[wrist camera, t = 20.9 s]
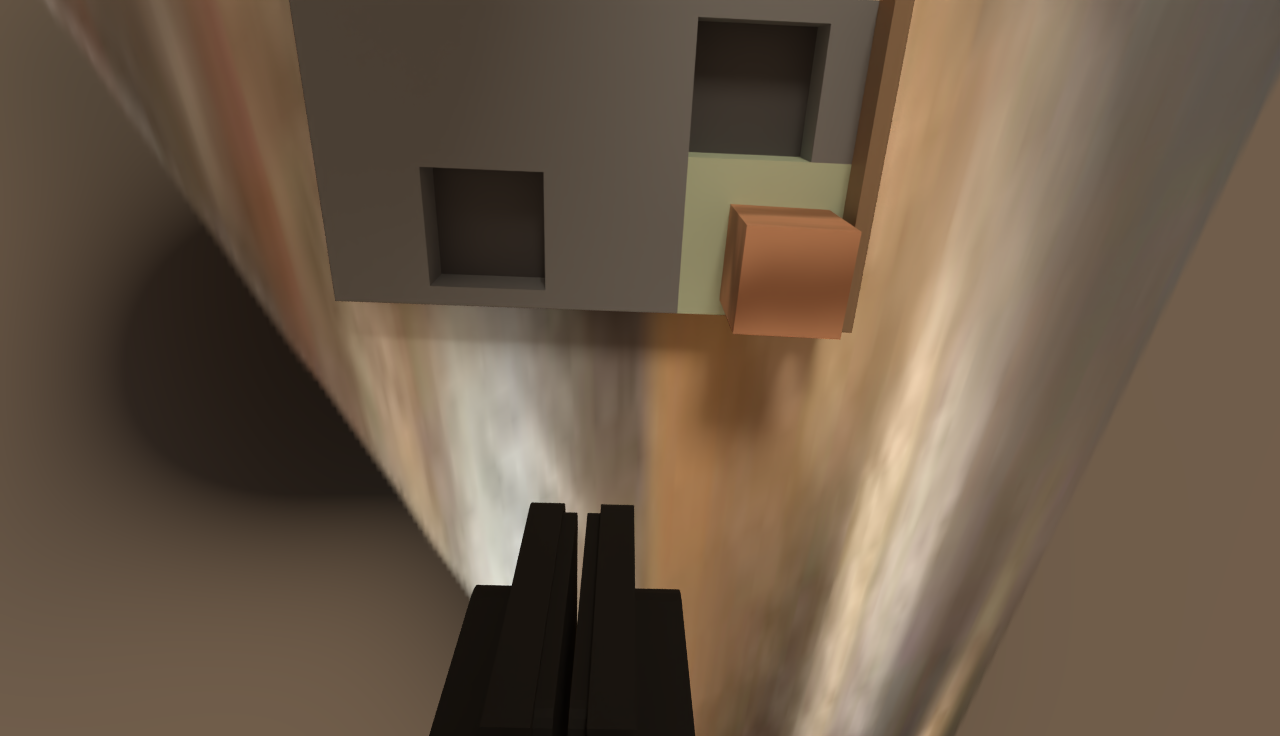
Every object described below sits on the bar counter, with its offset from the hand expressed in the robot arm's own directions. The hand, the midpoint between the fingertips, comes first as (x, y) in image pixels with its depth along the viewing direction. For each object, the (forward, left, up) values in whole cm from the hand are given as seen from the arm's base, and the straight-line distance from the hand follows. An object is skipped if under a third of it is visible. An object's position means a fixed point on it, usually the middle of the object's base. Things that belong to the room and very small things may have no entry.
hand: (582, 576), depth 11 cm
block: (+1, +8, -25) cm, 26 cm away
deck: (-4, -1, -27) cm, 27 cm away
